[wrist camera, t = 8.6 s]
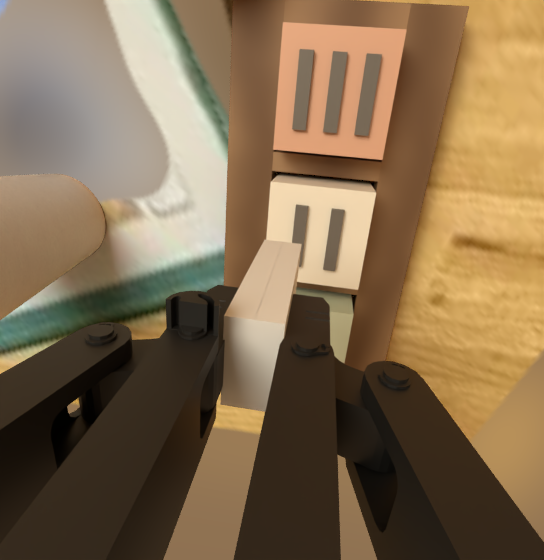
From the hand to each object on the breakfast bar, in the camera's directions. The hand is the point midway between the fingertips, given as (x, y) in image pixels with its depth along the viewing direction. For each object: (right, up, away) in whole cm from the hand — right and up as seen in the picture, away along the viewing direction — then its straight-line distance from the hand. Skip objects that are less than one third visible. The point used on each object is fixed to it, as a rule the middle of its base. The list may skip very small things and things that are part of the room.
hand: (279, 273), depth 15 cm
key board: (+3, +4, +10) cm, 11 cm away
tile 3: (+3, +11, +7) cm, 13 cm away
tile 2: (+3, +4, +10) cm, 11 cm away
